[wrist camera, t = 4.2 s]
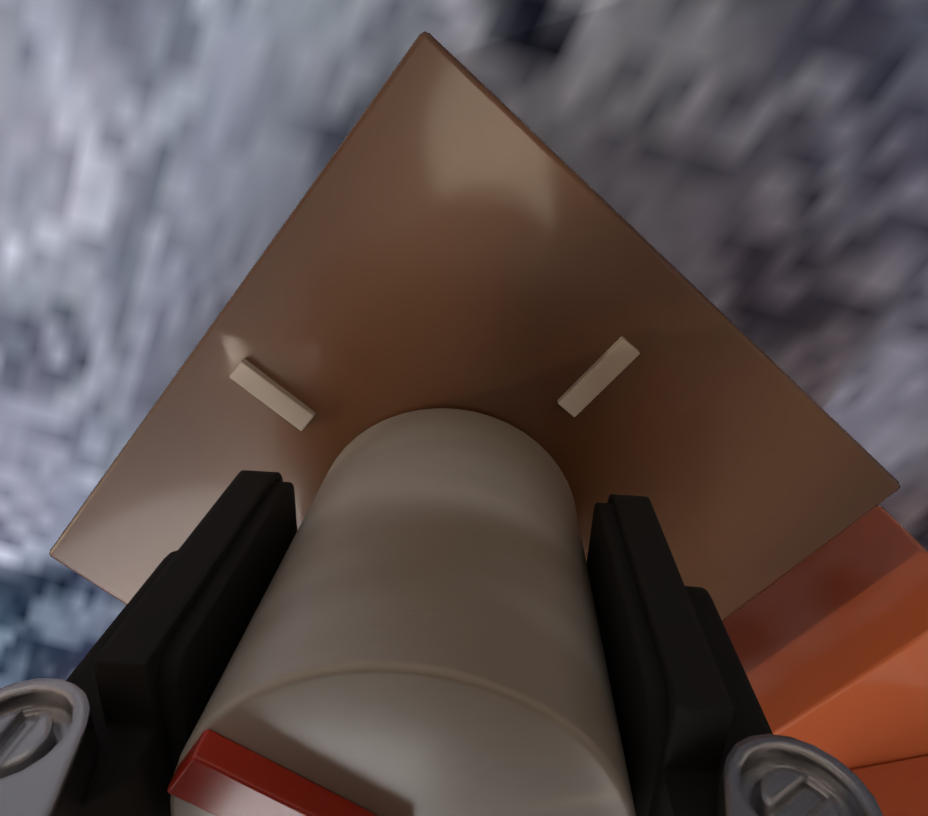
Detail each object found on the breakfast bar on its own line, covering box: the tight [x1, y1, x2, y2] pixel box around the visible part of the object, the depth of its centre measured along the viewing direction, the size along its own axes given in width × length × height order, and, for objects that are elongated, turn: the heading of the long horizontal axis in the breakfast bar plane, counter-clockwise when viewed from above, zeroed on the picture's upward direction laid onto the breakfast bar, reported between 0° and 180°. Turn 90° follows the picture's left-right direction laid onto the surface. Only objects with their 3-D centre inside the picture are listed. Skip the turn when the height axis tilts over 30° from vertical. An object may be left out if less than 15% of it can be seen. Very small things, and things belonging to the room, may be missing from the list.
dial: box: [167, 408, 636, 816], centre depth 8 cm, size 4×4×6 cm
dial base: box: [49, 31, 900, 621], centre depth 13 cm, size 10×11×3 cm
